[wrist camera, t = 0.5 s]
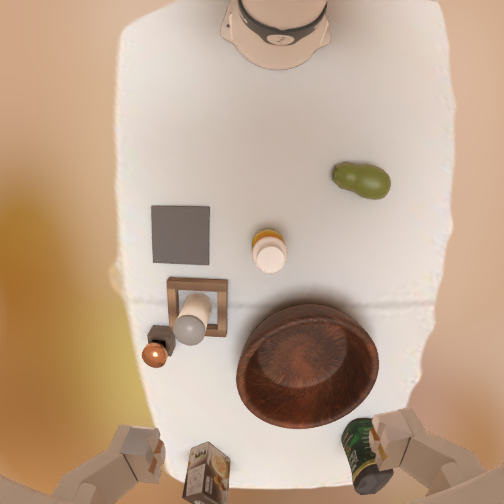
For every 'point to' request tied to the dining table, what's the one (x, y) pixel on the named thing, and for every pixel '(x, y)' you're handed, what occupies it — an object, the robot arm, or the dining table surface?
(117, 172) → the dining table surface
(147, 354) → the plunger
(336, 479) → the dining table surface
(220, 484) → the coffee box
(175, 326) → the cylinder
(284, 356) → the wooden bowl
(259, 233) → the supplement bottle
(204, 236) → the pad
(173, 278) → the square wooden frame
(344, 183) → the pear
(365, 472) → the coffee jar
